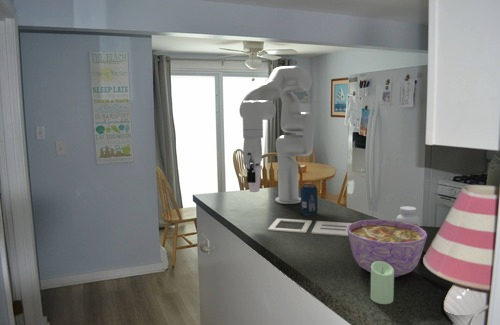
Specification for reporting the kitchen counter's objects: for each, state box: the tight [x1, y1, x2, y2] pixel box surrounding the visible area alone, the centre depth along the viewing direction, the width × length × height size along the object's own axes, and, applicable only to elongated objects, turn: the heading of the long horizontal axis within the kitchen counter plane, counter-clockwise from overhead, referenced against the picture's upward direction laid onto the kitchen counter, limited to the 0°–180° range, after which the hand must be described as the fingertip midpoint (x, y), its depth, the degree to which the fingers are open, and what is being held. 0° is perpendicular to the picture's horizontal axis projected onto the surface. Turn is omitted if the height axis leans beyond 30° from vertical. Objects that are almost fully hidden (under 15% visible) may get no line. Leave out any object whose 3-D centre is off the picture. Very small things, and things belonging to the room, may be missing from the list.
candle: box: [370, 261, 395, 305], centre depth 89 cm, size 5×5×8 cm
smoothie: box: [245, 164, 263, 193], centre depth 148 cm, size 6×6×14 cm
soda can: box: [300, 183, 319, 216], centre depth 162 cm, size 7×7×12 cm
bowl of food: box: [347, 219, 428, 279], centre depth 103 cm, size 20×20×12 cm
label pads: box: [267, 218, 353, 237], centre depth 144 cm, size 14×30×1 cm, turn 72°
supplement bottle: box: [395, 205, 420, 227], centre depth 120 cm, size 7×7×13 cm
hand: (254, 180), depth 148 cm, fingers closed on smoothie, 6 cm apart
